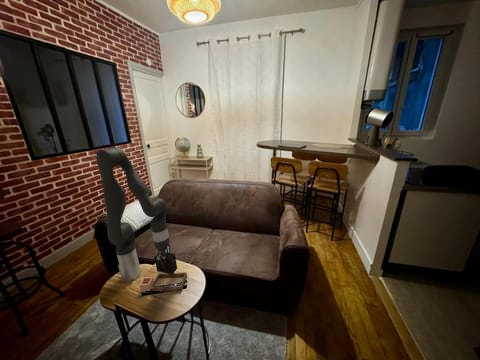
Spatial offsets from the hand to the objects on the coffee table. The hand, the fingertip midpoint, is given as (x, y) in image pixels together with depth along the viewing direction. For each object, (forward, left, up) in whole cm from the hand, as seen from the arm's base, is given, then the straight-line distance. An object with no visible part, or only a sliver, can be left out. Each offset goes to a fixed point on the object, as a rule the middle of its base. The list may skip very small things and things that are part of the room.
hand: (166, 264), depth 103 cm
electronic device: (0, 0, -4) cm, 4 cm away
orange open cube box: (-11, -3, -13) cm, 17 cm away
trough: (0, 0, -13) cm, 13 cm away
